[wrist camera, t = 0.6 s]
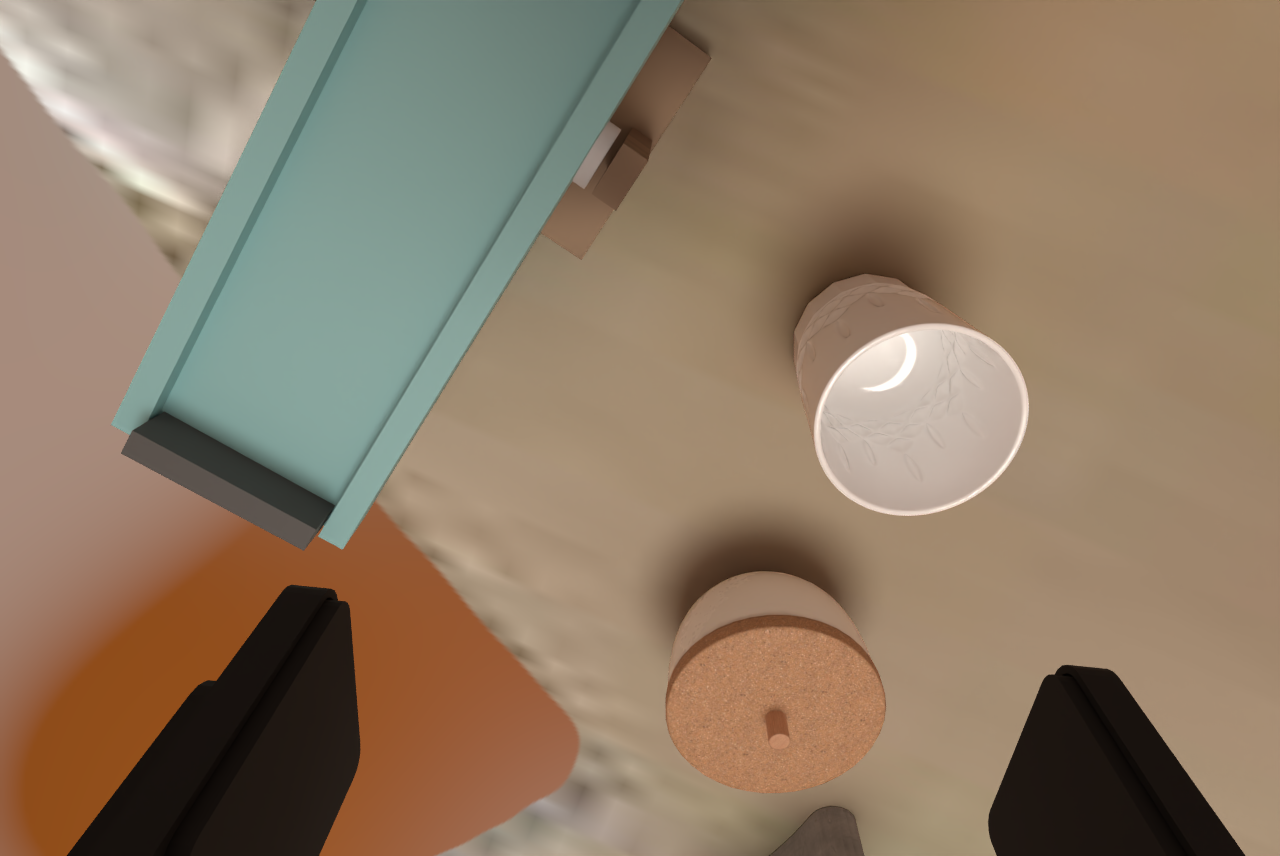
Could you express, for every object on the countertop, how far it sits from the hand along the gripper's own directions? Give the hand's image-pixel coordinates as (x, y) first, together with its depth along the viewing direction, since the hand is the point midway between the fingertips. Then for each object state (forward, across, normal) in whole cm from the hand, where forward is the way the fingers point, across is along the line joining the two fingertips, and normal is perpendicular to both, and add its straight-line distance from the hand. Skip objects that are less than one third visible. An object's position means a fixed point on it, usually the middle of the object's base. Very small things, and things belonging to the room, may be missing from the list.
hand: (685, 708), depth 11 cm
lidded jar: (+29, -7, +21) cm, 36 cm away
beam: (+22, +8, -7) cm, 25 cm away
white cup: (+29, -9, +4) cm, 31 cm away
